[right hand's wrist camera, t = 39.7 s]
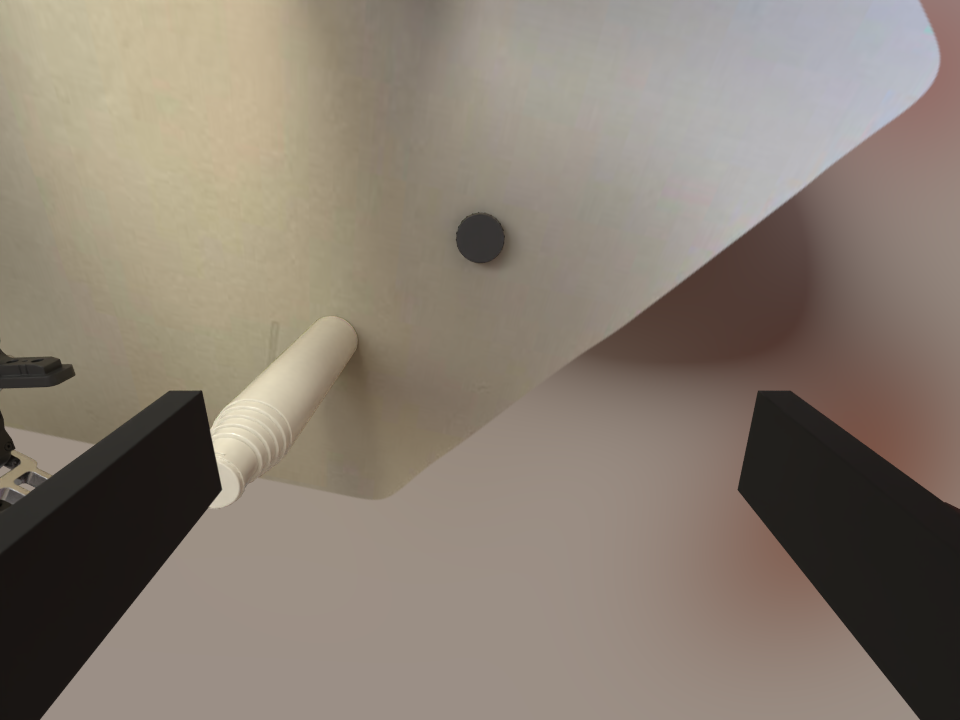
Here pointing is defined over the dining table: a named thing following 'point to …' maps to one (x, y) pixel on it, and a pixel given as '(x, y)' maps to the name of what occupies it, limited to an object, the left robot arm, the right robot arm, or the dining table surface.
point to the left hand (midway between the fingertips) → (84, 433)
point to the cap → (480, 237)
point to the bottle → (278, 405)
